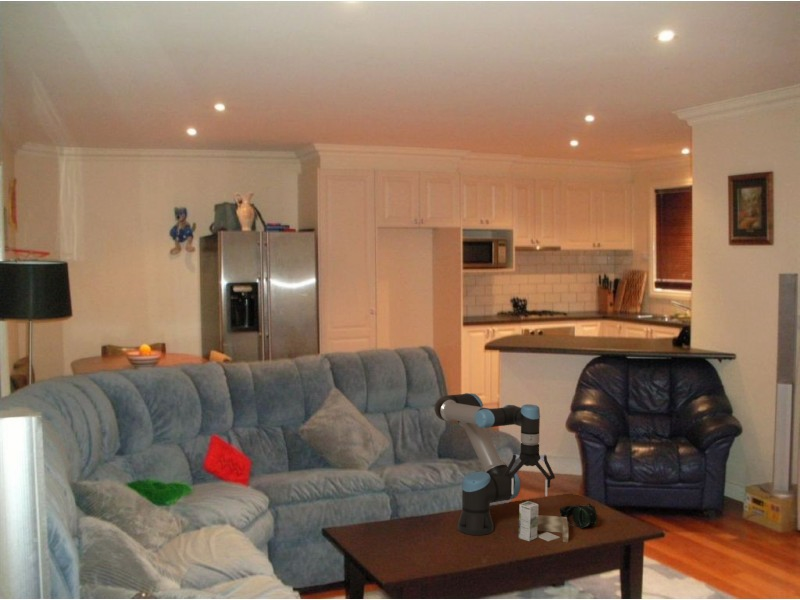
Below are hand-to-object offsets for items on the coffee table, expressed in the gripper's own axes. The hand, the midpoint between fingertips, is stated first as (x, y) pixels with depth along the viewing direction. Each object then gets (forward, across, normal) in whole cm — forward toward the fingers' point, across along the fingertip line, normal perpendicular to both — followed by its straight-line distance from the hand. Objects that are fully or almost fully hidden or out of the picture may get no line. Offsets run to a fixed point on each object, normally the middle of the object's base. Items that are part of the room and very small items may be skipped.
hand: (529, 494), depth 305 cm
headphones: (+19, +22, +23) cm, 37 cm away
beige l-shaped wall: (+18, +7, +5) cm, 20 cm away
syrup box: (+19, 0, 0) cm, 19 cm away
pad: (+18, +8, +3) cm, 20 cm away
